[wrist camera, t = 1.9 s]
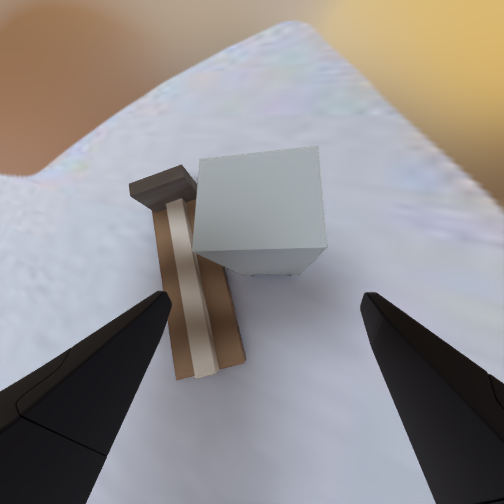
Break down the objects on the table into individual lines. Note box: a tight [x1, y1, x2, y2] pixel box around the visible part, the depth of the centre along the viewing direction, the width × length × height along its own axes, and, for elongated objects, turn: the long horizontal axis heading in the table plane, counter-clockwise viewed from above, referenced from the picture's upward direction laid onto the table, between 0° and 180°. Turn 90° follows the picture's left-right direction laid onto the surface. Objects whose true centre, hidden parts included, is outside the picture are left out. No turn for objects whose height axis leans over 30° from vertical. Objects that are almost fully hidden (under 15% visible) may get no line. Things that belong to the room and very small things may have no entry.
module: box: [192, 146, 327, 276], centre depth 14 cm, size 5×6×12 cm
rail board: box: [129, 165, 246, 380], centre depth 19 cm, size 20×7×5 cm, turn 16°
